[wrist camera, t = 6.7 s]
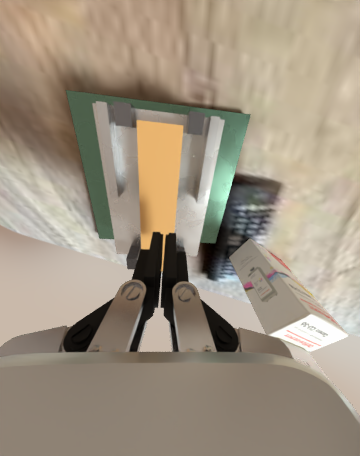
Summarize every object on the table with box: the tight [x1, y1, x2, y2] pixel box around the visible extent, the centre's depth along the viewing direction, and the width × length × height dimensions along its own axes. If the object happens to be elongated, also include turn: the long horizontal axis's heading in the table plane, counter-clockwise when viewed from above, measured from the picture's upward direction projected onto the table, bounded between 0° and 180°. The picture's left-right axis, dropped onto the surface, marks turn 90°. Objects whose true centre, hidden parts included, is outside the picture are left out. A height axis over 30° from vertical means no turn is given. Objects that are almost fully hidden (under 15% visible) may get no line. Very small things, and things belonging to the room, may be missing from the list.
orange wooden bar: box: [137, 120, 184, 271], centre depth 13 cm, size 13×3×1 cm, turn 175°
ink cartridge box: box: [229, 239, 349, 378], centre depth 19 cm, size 9×5×15 cm, turn 54°
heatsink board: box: [66, 90, 250, 269], centre depth 15 cm, size 15×16×7 cm
